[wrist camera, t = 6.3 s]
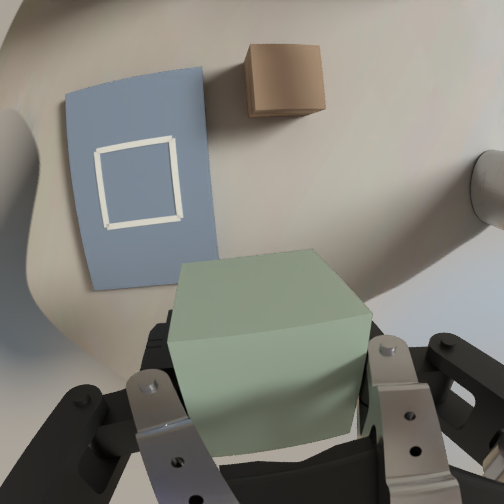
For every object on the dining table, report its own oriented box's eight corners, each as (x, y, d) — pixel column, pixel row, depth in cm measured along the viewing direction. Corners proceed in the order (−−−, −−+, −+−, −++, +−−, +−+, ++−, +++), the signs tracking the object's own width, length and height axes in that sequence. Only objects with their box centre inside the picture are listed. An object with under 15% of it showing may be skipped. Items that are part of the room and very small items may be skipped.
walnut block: (301, 62, 23) (319, 45, 18) (306, 115, 24) (325, 108, 20) (243, 62, 22) (250, 44, 18) (248, 117, 24) (255, 110, 19)
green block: (312, 249, 12) (372, 313, 7) (310, 351, 14) (349, 433, 9) (182, 263, 11) (167, 342, 7) (201, 366, 13) (203, 457, 8)
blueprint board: (202, 70, 22) (201, 66, 21) (220, 273, 28) (220, 279, 27) (71, 96, 21) (64, 94, 20) (98, 285, 27) (93, 291, 26)
